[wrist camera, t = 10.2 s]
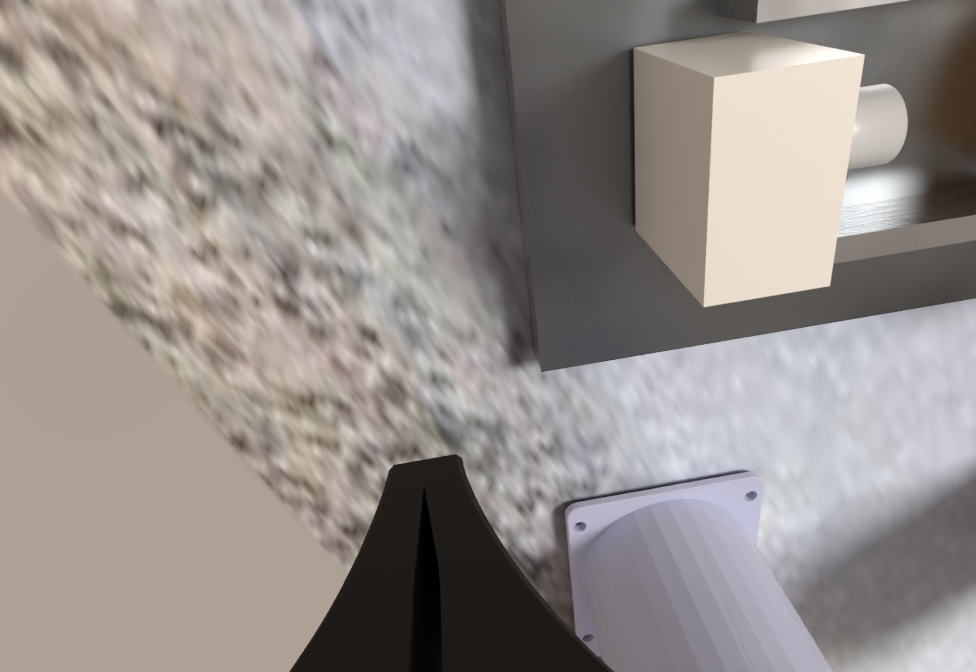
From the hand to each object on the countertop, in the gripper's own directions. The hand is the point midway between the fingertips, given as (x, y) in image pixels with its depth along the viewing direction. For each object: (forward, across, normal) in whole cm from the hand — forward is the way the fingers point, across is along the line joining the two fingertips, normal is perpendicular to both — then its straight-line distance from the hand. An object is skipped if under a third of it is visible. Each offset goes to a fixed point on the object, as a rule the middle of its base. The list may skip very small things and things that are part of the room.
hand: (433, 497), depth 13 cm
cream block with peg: (+8, -10, -4) cm, 13 cm away
